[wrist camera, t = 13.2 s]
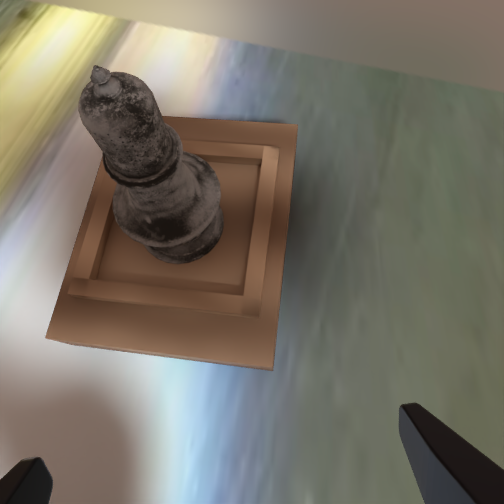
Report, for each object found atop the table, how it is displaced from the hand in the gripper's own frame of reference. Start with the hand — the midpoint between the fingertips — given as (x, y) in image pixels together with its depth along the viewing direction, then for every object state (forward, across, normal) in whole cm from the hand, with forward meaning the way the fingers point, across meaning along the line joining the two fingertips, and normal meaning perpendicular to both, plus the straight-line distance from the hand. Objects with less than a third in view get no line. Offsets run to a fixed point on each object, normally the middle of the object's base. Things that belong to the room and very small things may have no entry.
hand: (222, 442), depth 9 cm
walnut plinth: (+18, +3, +1) cm, 18 cm away
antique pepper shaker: (+16, +3, -1) cm, 16 cm away
